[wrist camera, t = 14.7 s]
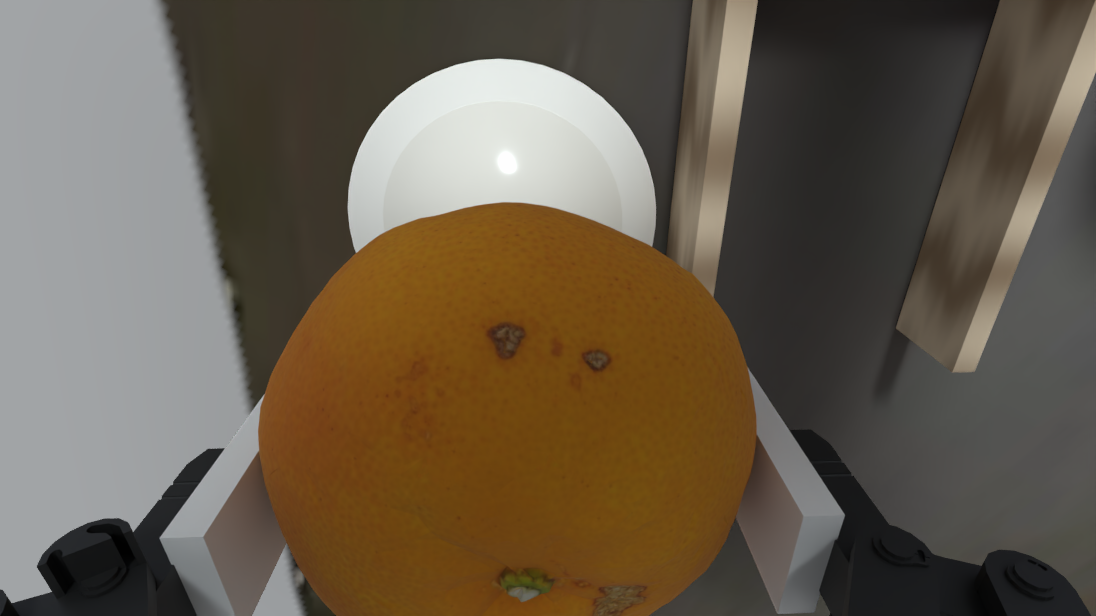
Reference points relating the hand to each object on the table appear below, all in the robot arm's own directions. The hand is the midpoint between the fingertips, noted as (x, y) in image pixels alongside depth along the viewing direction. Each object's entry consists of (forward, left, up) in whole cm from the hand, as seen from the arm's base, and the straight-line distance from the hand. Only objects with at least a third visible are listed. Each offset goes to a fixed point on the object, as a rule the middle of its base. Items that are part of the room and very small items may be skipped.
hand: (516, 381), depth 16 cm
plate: (0, -1, -15) cm, 15 cm away
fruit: (-1, 0, -1) cm, 1 cm away
